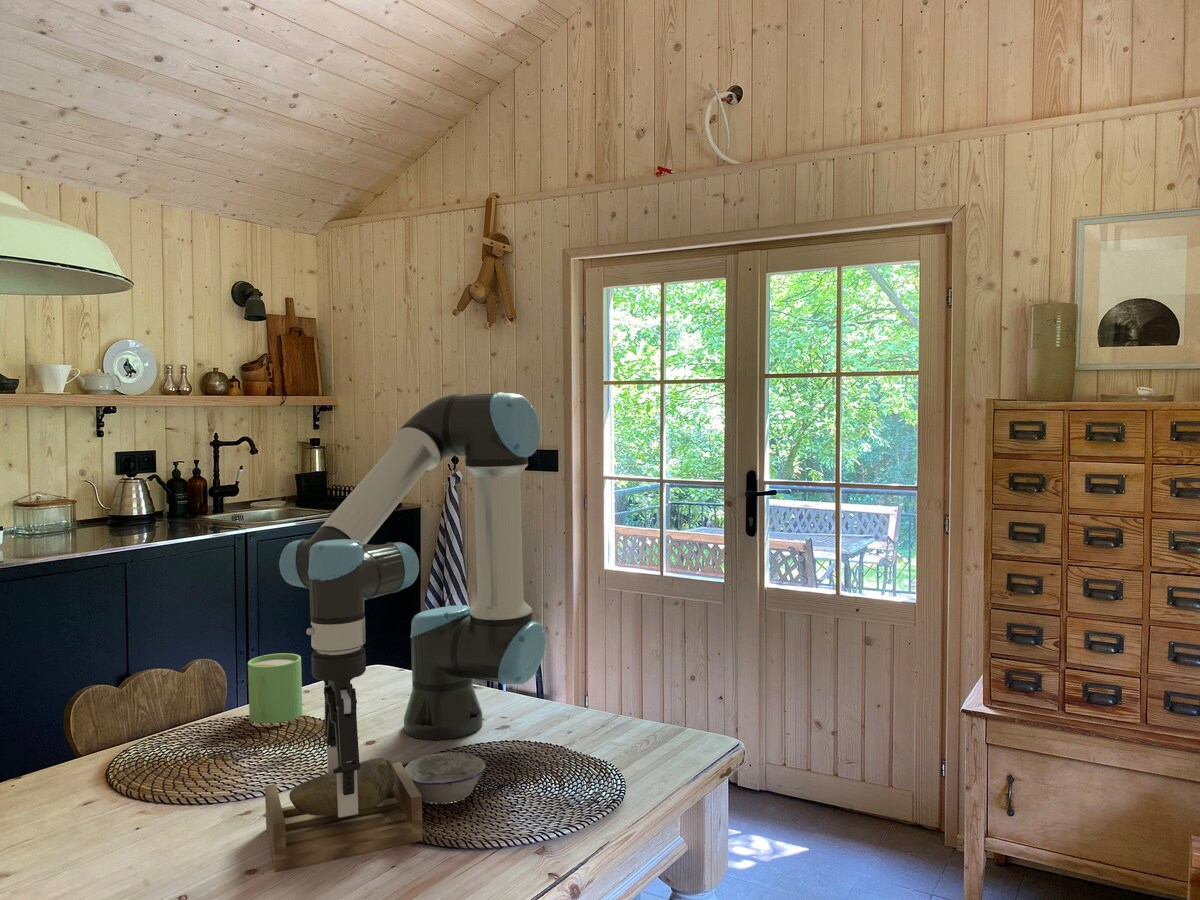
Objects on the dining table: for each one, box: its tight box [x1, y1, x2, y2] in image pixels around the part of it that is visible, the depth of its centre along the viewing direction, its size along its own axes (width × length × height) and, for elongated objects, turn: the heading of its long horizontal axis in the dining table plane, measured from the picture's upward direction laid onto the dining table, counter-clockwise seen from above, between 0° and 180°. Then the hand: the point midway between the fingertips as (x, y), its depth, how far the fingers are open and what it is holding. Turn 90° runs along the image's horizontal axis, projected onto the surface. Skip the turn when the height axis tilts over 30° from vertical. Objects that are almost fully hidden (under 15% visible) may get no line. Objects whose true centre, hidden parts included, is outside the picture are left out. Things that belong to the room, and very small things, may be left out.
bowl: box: [404, 751, 487, 803], centre depth 144 cm, size 13×13×5 cm
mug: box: [245, 652, 303, 724], centre depth 180 cm, size 13×10×12 cm
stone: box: [288, 757, 395, 816], centre depth 131 cm, size 9×14×10 cm, turn 108°
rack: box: [264, 761, 424, 873], centre depth 131 cm, size 20×14×6 cm
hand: (342, 801), depth 131 cm, fingers closed on stone, 9 cm apart
